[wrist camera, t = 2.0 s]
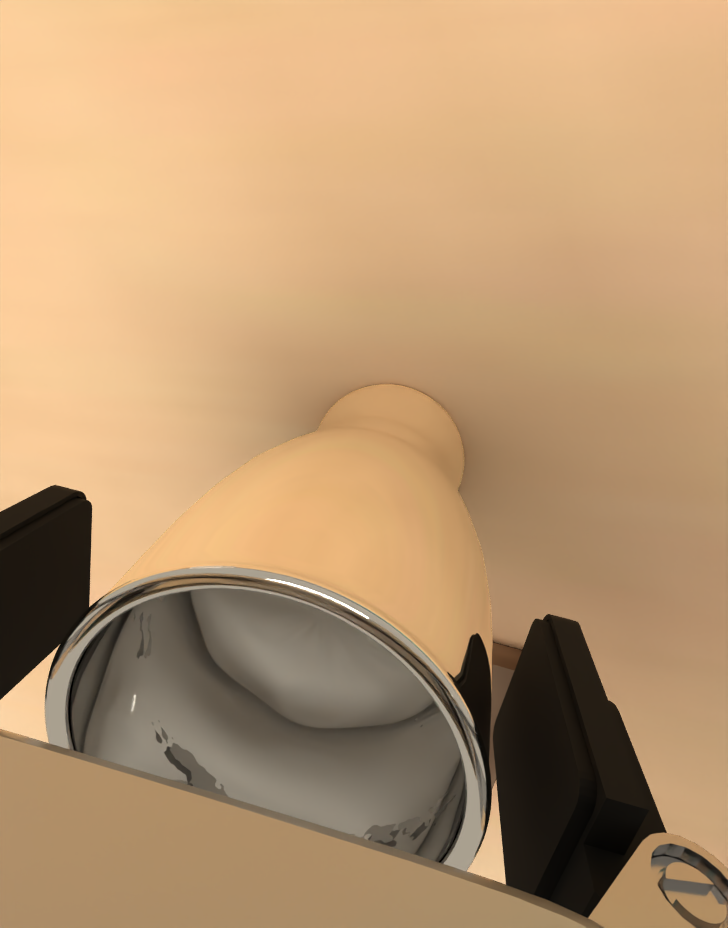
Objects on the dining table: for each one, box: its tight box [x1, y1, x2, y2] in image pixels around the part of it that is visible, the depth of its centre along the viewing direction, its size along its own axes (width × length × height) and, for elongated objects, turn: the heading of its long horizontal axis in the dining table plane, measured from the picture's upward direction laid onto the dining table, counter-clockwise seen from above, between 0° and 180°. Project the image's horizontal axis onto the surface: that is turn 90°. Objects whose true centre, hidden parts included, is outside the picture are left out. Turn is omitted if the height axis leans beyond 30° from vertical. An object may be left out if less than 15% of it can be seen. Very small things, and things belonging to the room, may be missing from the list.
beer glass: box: [45, 384, 493, 871], centre depth 15 cm, size 7×7×15 cm
